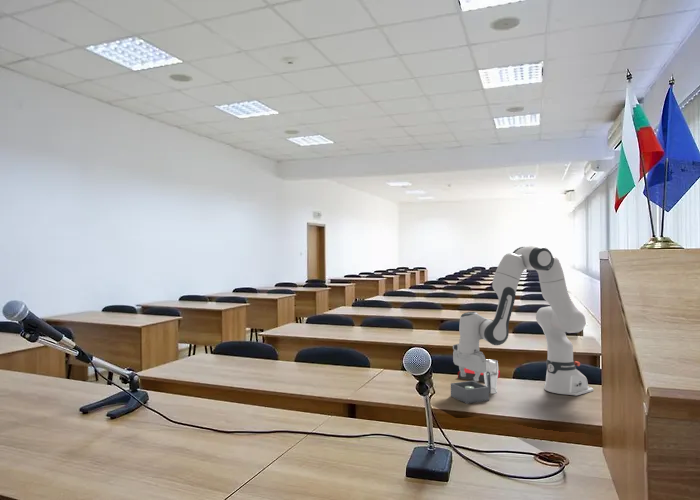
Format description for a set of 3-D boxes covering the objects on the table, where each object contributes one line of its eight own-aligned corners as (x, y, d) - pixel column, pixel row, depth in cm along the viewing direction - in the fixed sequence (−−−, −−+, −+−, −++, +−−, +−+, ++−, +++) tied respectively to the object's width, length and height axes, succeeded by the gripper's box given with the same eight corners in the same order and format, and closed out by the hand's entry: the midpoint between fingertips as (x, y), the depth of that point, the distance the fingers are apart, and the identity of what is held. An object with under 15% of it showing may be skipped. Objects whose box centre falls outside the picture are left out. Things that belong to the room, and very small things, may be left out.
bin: (472, 393, 224) (472, 380, 224) (488, 400, 213) (488, 387, 213) (450, 396, 219) (450, 383, 219) (466, 403, 208) (466, 389, 208)
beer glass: (499, 395, 221) (498, 362, 221) (483, 394, 222) (483, 362, 223) (497, 391, 228) (497, 359, 228) (482, 390, 229) (482, 359, 230)
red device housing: (500, 379, 250) (500, 370, 250) (492, 386, 238) (492, 376, 238) (467, 375, 260) (467, 366, 260) (457, 381, 248) (457, 371, 248)
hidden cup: (470, 395, 218) (470, 385, 219) (475, 397, 215) (475, 387, 215) (463, 396, 217) (463, 386, 217) (468, 398, 213) (468, 388, 213)
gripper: (489, 351, 208) (490, 383, 208) (461, 343, 227) (462, 373, 226) (477, 352, 205) (478, 385, 205) (450, 344, 224) (450, 374, 224)
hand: (469, 378), depth 216 cm, fingers open, 8 cm apart
